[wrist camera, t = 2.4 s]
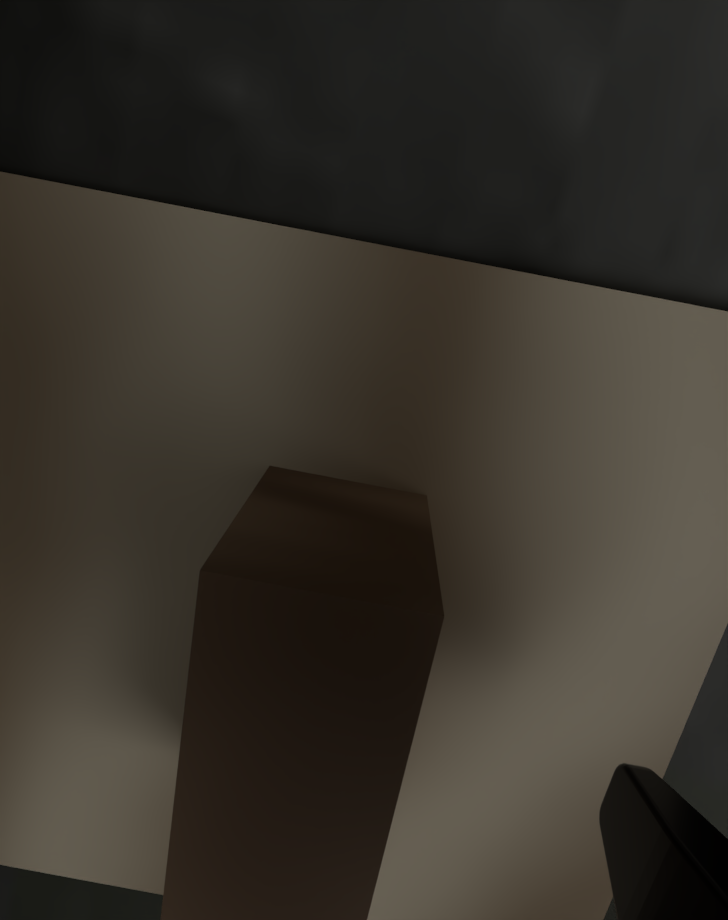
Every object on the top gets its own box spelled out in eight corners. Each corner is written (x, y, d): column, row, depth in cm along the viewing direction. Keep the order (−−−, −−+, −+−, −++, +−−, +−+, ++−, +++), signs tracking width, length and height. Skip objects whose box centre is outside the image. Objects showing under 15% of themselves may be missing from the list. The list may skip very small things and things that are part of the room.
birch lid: (-15, 813, 13) (-217, 1076, 9) (-22, 170, 9) (-385, 77, 5) (567, 921, 13) (651, 1235, 9) (802, 328, 9) (1152, 372, 5)
